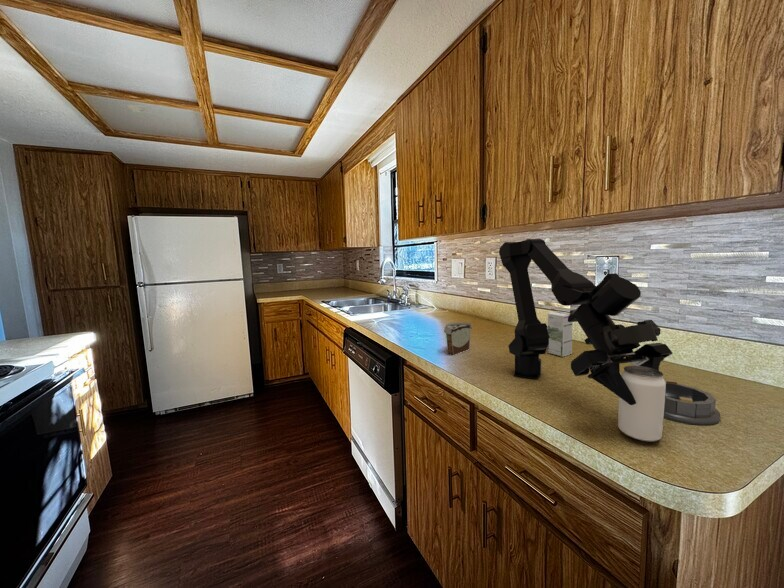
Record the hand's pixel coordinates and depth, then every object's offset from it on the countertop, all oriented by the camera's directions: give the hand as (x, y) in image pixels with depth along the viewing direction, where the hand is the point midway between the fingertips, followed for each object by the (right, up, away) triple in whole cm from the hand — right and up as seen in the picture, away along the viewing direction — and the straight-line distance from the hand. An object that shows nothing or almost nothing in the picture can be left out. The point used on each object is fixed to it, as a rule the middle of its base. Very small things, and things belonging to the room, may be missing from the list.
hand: (648, 402), depth 56 cm
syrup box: (+12, -1, +51) cm, 53 cm away
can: (0, -7, +2) cm, 7 cm away
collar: (+16, -6, +12) cm, 20 cm away
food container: (-23, -2, +59) cm, 64 cm away
